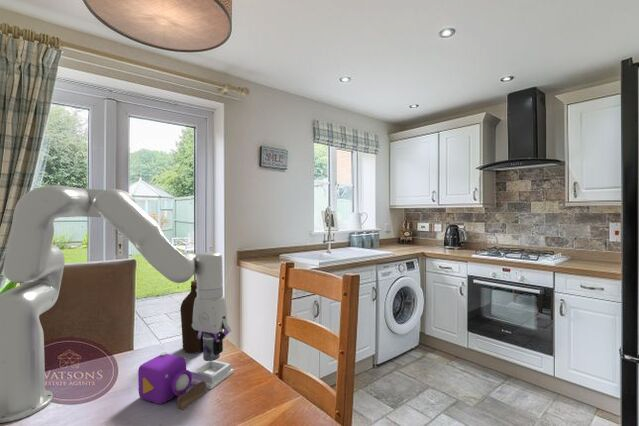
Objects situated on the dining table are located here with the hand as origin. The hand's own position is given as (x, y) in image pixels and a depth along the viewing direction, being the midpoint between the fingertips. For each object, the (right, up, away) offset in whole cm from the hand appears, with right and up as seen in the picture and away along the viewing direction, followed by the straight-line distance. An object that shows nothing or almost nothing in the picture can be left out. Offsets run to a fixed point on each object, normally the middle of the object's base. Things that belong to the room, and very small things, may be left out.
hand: (211, 351), depth 98 cm
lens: (0, -2, 0) cm, 2 cm away
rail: (-1, -8, -12) cm, 14 cm away
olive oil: (-12, -8, +21) cm, 25 cm away
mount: (0, -8, 0) cm, 8 cm away
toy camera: (-9, -9, -9) cm, 15 cm away
